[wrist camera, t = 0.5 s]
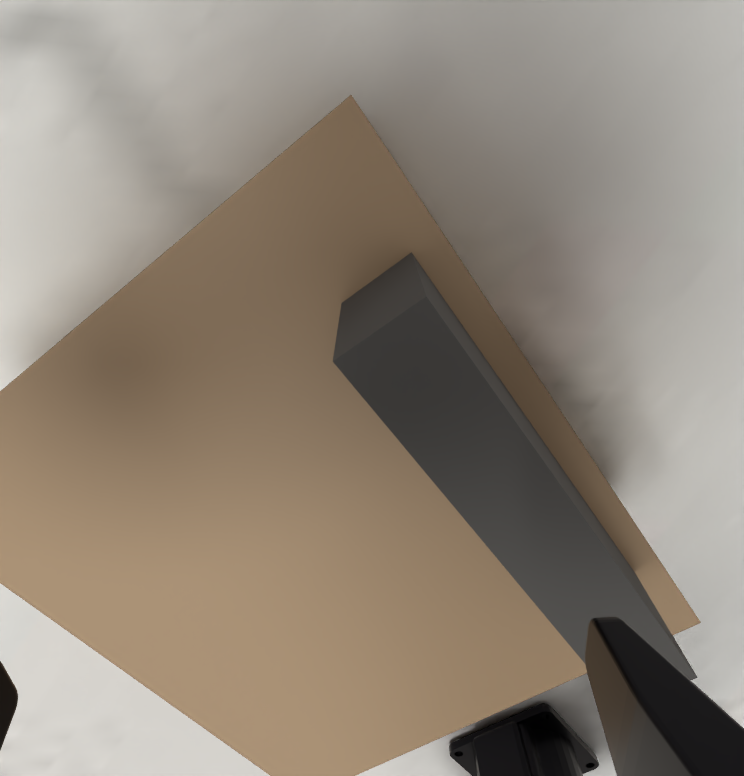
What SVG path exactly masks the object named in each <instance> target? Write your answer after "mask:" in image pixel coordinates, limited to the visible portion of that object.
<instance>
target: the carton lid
mask: <svg viewBox="0 0 744 776" xmlns="http://www.w3.org/2000/svg"><path fill="white" fill-rule="evenodd" d="M0 583H1V584H2V585H4V586H5V587H6V588H8V589H9V590H11V591H12V592H13V593H15V594H16V595H18V596H19V597H20V598H22V599H23V600H25V601H26V602H28V603H29V604H30V605H32V606H33V607H35V608H36V609H37V610H39V611H40V612H42V613H43V614H44V615H46V616H47V617H49V618H50V619H51V620H53V621H54V622H56V623H57V624H58V625H60V626H61V627H63V628H64V629H65V630H67V631H68V632H70V633H71V634H72V635H74V636H75V637H77V638H78V639H79V640H81V641H82V642H84V643H85V644H86V645H88V646H89V647H91V648H92V649H93V650H95V651H96V652H98V653H99V654H101V655H102V656H103V657H105V658H106V659H108V660H109V661H110V662H112V663H113V664H115V665H116V666H117V667H119V668H120V669H122V670H123V671H124V672H126V673H127V674H129V675H130V676H131V677H133V678H134V679H136V680H137V681H138V682H140V683H141V684H143V685H144V686H145V687H147V688H148V689H150V690H151V691H152V692H154V693H155V694H157V695H158V696H159V697H161V698H162V699H164V700H165V701H166V702H168V703H169V704H171V705H172V706H174V707H175V708H176V709H178V710H179V711H181V712H182V713H183V714H185V715H186V716H188V717H189V718H190V719H192V720H193V721H195V722H196V723H197V724H199V725H200V726H202V727H203V728H204V729H206V730H207V731H209V732H210V733H211V734H213V735H214V736H216V737H217V738H218V739H220V740H221V741H223V742H224V743H225V744H227V745H228V746H230V747H231V748H232V749H234V750H235V751H237V752H238V753H239V754H241V755H242V756H244V757H245V758H247V759H248V760H249V761H251V762H252V763H254V764H255V765H256V766H258V767H259V768H261V769H262V770H263V771H265V772H266V773H268V774H269V775H270V776H355V775H357V774H360V773H362V772H364V771H367V770H369V769H371V768H373V767H376V766H378V765H380V764H382V763H385V762H387V761H389V760H391V759H394V758H396V757H398V756H400V755H403V754H405V753H407V752H409V751H412V750H414V749H416V748H419V747H421V746H423V745H425V744H428V743H430V742H432V741H434V740H437V739H439V738H441V737H443V736H446V735H448V734H450V733H452V732H455V731H457V730H459V729H462V728H464V727H466V726H468V725H471V724H473V723H475V722H477V721H480V720H482V719H484V718H486V717H489V716H491V715H493V714H495V713H498V712H500V711H502V710H505V709H507V708H509V707H511V706H514V705H516V704H518V703H520V702H523V701H525V700H527V699H529V698H532V697H534V696H536V695H538V694H541V693H543V692H545V691H548V690H550V689H552V688H554V687H557V686H559V685H561V684H563V683H566V682H568V681H570V680H572V679H575V678H577V677H579V676H581V675H584V674H586V673H587V670H586V664H585V650H586V642H587V634H588V625H589V622H590V620H591V619H592V618H599V617H618V618H620V619H622V620H623V621H625V622H626V623H627V624H628V625H629V626H630V627H631V628H633V629H634V630H635V631H636V632H637V633H638V634H639V635H640V636H641V637H643V638H644V639H645V640H646V641H647V642H648V643H649V644H650V645H651V646H653V647H654V648H655V649H656V650H657V651H658V652H659V653H660V654H661V655H663V656H664V657H665V658H666V659H667V660H668V661H669V662H670V663H671V664H673V665H674V666H675V667H676V668H677V669H678V670H679V671H680V672H681V673H683V674H684V675H685V676H686V677H687V678H688V679H689V680H693V679H695V678H697V676H696V674H695V673H694V671H693V669H692V668H691V666H690V664H689V663H688V661H687V659H686V657H685V656H684V654H683V652H682V651H681V649H680V647H679V646H678V644H677V642H676V641H675V639H674V637H673V636H672V635H674V634H676V633H679V632H681V631H683V630H686V629H688V628H690V627H692V626H695V625H697V624H699V623H701V622H700V621H699V619H698V618H697V616H696V615H695V613H694V612H693V610H692V609H691V607H690V606H689V604H688V603H687V601H686V600H685V598H684V596H683V595H682V593H681V592H680V590H679V589H678V587H677V586H676V584H675V583H674V581H673V580H672V578H671V577H670V575H669V574H668V572H667V571H666V569H665V568H664V566H663V565H662V563H661V562H660V560H659V559H658V557H657V556H656V554H655V553H654V551H653V550H652V548H651V547H650V545H649V544H648V542H647V541H646V539H645V538H644V536H643V535H642V533H641V532H640V530H639V529H638V527H637V526H636V524H635V522H634V521H633V519H632V518H631V516H630V515H629V513H628V512H627V510H626V509H625V507H624V506H623V504H622V503H621V501H620V500H619V498H618V497H617V495H616V494H615V492H614V491H613V489H612V488H611V486H610V485H609V483H608V482H607V480H606V479H605V477H604V476H603V474H602V473H601V471H600V470H599V468H598V467H597V465H596V464H595V462H594V461H593V459H592V458H591V456H590V455H589V453H588V452H587V450H586V449H585V447H584V445H583V444H582V442H581V441H580V439H579V438H578V436H577V435H576V433H575V432H574V430H573V429H572V427H571V426H570V424H569V423H568V421H567V420H566V418H565V417H564V415H563V414H562V412H561V411H560V409H559V408H558V406H557V405H556V403H555V402H554V400H553V399H552V397H551V396H550V394H549V393H548V391H547V390H546V388H545V387H544V385H543V384H542V382H541V381H540V379H539V378H538V376H537V375H536V373H535V372H534V370H533V368H532V367H531V365H530V364H529V362H528V361H527V359H526V358H525V356H524V355H523V353H522V352H521V350H520V349H519V347H518V346H517V344H516V343H515V341H514V340H513V338H512V337H511V335H510V334H509V332H508V331H507V329H506V328H505V326H504V325H503V323H502V322H501V320H500V319H499V317H498V316H497V314H496V313H495V311H494V310H493V308H492V307H491V305H490V304H489V302H488V301H487V299H486V298H485V296H484V295H483V293H482V291H481V290H480V288H479V287H478V285H477V284H476V282H475V281H474V279H473V278H472V276H471V275H470V273H469V272H468V270H467V269H466V267H465V266H464V264H463V263H462V261H461V260H460V258H459V257H458V255H457V254H456V252H455V251H454V249H453V248H452V246H451V245H450V243H449V242H448V240H447V239H446V237H445V236H444V234H443V233H442V231H441V230H440V228H439V227H438V225H437V224H436V222H435V221H434V219H433V218H432V216H431V214H430V213H429V211H428V210H427V208H426V207H425V205H424V204H423V202H422V201H421V199H420V198H419V196H418V195H417V193H416V192H415V190H414V189H413V187H412V186H411V184H410V183H409V181H408V180H407V178H406V177H405V175H404V174H403V172H402V171H401V169H400V168H399V166H398V165H397V163H396V162H395V160H394V159H393V157H392V156H391V154H390V153H389V151H388V150H387V148H386V147H385V145H384V144H383V142H382V141H381V139H380V137H379V136H378V134H377V133H376V131H375V130H374V128H373V127H372V125H371V124H370V122H369V121H368V119H367V118H366V116H365V115H364V113H363V112H362V110H361V109H360V107H359V106H358V104H357V103H356V101H355V100H354V98H353V97H352V95H350V96H349V97H348V98H347V99H346V100H344V101H343V102H342V103H341V104H340V105H338V106H337V107H336V108H335V109H334V110H333V111H331V112H330V113H329V114H328V115H327V116H325V117H324V118H323V119H322V120H321V121H320V122H318V123H317V124H316V125H315V126H314V127H312V128H311V129H310V130H309V131H308V132H307V133H305V134H304V135H303V136H302V137H301V138H299V139H298V140H297V141H296V142H295V143H294V144H292V145H291V146H290V147H289V148H288V149H286V150H285V151H284V152H283V153H282V154H281V155H279V156H278V157H277V158H276V159H275V160H273V161H272V162H271V163H270V164H269V165H268V166H266V167H265V168H264V169H263V170H262V171H260V172H259V173H258V174H257V175H256V176H255V177H253V178H252V179H251V180H250V181H249V182H247V183H246V184H245V185H244V186H243V187H241V188H240V189H239V190H238V191H237V192H236V193H234V194H233V195H232V196H231V197H230V198H228V199H227V200H226V201H225V202H224V203H223V204H221V205H220V206H219V207H218V208H217V209H215V210H214V211H213V212H212V213H211V214H210V215H208V216H207V217H206V218H205V219H204V220H202V221H201V222H200V223H199V224H198V225H197V226H195V227H194V228H193V229H192V230H191V231H189V232H188V233H187V234H186V235H185V236H184V237H182V238H181V239H180V240H179V241H178V242H176V243H175V244H174V245H173V246H172V247H171V248H169V249H168V250H167V251H166V252H165V253H163V254H162V255H161V256H160V257H159V258H158V259H156V260H155V261H154V262H153V263H152V264H150V265H149V266H148V267H147V268H146V269H144V270H143V271H142V272H141V273H140V274H139V275H137V276H136V277H135V278H134V279H133V280H131V281H130V282H129V283H128V284H127V285H126V286H124V287H123V288H122V289H121V290H120V291H118V292H117V293H116V294H115V295H114V296H113V297H111V298H110V299H109V300H108V301H107V302H105V303H104V304H103V305H102V306H101V307H100V308H98V309H97V310H96V311H95V312H94V313H92V314H91V315H90V316H89V317H88V318H87V319H85V320H84V321H83V322H82V323H81V324H79V325H78V326H77V327H76V328H75V329H74V330H72V331H71V332H70V333H69V334H68V335H66V336H65V337H64V338H63V339H62V340H61V341H59V342H58V343H57V344H56V345H55V346H53V347H52V348H51V349H50V350H49V351H48V352H46V353H45V354H44V355H43V356H42V357H40V358H39V359H38V360H37V361H36V362H34V363H33V364H32V365H31V366H30V367H29V368H27V369H26V370H25V371H24V372H23V373H21V374H20V375H19V376H18V377H17V378H16V379H14V380H13V381H12V382H11V383H10V384H8V385H7V386H6V387H5V388H4V389H3V390H1V391H0Z"/></svg>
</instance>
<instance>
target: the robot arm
mask: <svg viewBox="0 0 744 776" xmlns="http://www.w3.org/2000/svg"><path fill="white" fill-rule="evenodd" d="M585 664H586V670H587V674H588V677H589V681H590V684H591V688H592V691H593V694H594V698H595V701H596V705H597V708H598V712H599V715H600V719H601V722H602V726H603V729H604V732H605V736H606V739H607V743H608V746H609V750H610V753H611V757H612V760H613V763H614V767H615V770H616V773H617V776H744V728H743V727H741V726H740V725H739V724H738V723H737V722H736V721H735V720H734V719H733V718H731V717H730V716H729V715H728V714H727V713H726V712H725V711H724V710H723V709H721V708H720V707H719V706H718V705H717V704H716V703H715V702H714V701H713V700H711V699H710V698H709V697H708V696H707V695H706V694H705V693H704V692H703V691H701V690H700V689H699V688H698V687H697V686H696V685H695V684H694V683H693V682H691V681H690V680H689V679H688V678H687V677H686V676H685V675H684V674H683V673H681V672H680V671H679V670H678V669H677V668H676V667H675V666H674V665H673V664H671V663H670V662H669V661H668V660H667V659H666V658H665V657H664V656H663V655H661V654H660V653H659V652H658V651H657V650H656V649H655V648H654V647H653V646H651V645H650V644H649V643H648V642H647V641H646V640H645V639H644V638H643V637H641V636H640V635H639V634H638V633H637V632H636V631H635V630H634V629H633V628H631V627H630V626H629V625H628V624H627V623H626V622H625V621H623V620H622V619H620V618H618V617H599V618H592V619H591V620H590V622H589V625H588V634H587V642H586V650H585ZM17 702H18V693H17V690H16V687H15V686H14V684H13V682H12V680H11V679H10V677H9V675H8V673H7V671H6V670H5V668H4V666H3V664H2V663H1V661H0V750H1V747H2V744H3V742H4V739H5V736H6V734H7V731H8V729H9V726H10V723H11V721H12V718H13V715H14V713H15V710H16V707H17ZM449 751H450V756H451V757H452V758H453V759H454V760H455V761H456V762H457V763H459V764H460V765H461V766H462V767H463V768H464V769H465V770H466V771H468V772H469V773H470V774H471V775H472V776H583V774H584V773H586V772H589V771H591V770H594V769H596V768H597V767H598V766H599V763H598V760H597V758H596V755H595V754H594V753H593V752H592V751H591V750H590V749H589V748H588V746H587V745H586V744H585V743H584V742H583V741H582V740H581V739H580V738H579V737H578V736H577V735H576V734H575V732H574V731H573V730H572V729H571V728H570V727H569V726H568V725H567V724H566V723H565V722H564V721H563V719H562V718H561V717H560V716H559V715H558V714H557V713H556V712H555V711H554V710H553V709H552V708H551V706H549V705H546V704H541V705H538V706H535V707H533V708H531V709H528V710H526V711H524V712H521V713H519V714H517V715H515V716H512V717H510V718H508V719H505V720H503V721H501V722H499V723H496V724H494V725H492V726H489V727H487V728H485V729H483V730H480V731H478V732H476V733H473V734H471V735H469V736H466V737H464V738H462V739H460V740H457V741H455V742H453V743H451V744H450V745H449Z"/></svg>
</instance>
